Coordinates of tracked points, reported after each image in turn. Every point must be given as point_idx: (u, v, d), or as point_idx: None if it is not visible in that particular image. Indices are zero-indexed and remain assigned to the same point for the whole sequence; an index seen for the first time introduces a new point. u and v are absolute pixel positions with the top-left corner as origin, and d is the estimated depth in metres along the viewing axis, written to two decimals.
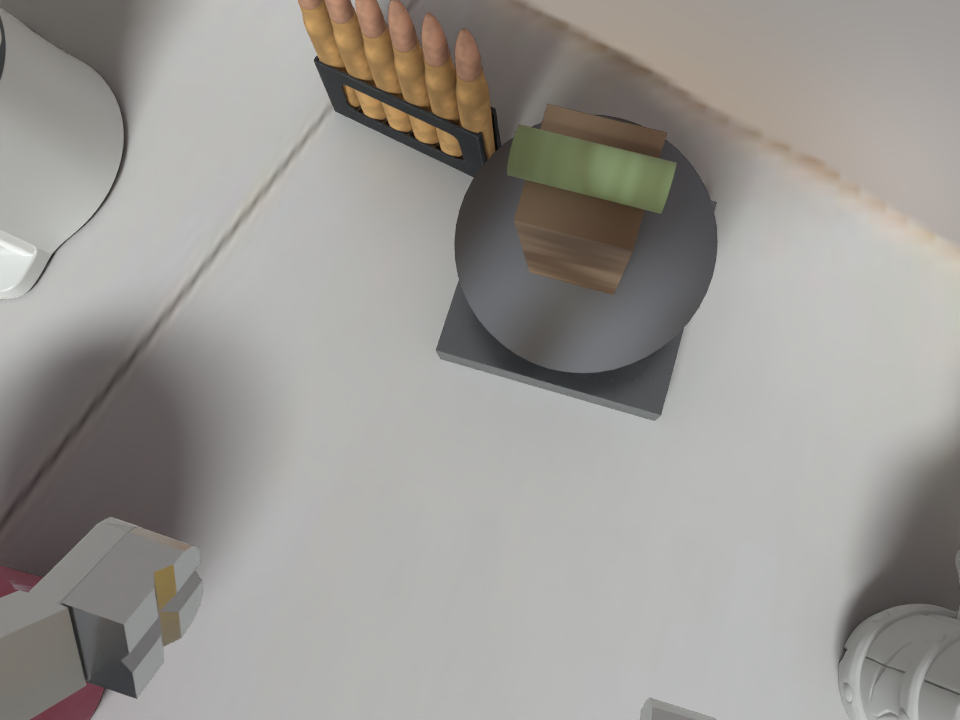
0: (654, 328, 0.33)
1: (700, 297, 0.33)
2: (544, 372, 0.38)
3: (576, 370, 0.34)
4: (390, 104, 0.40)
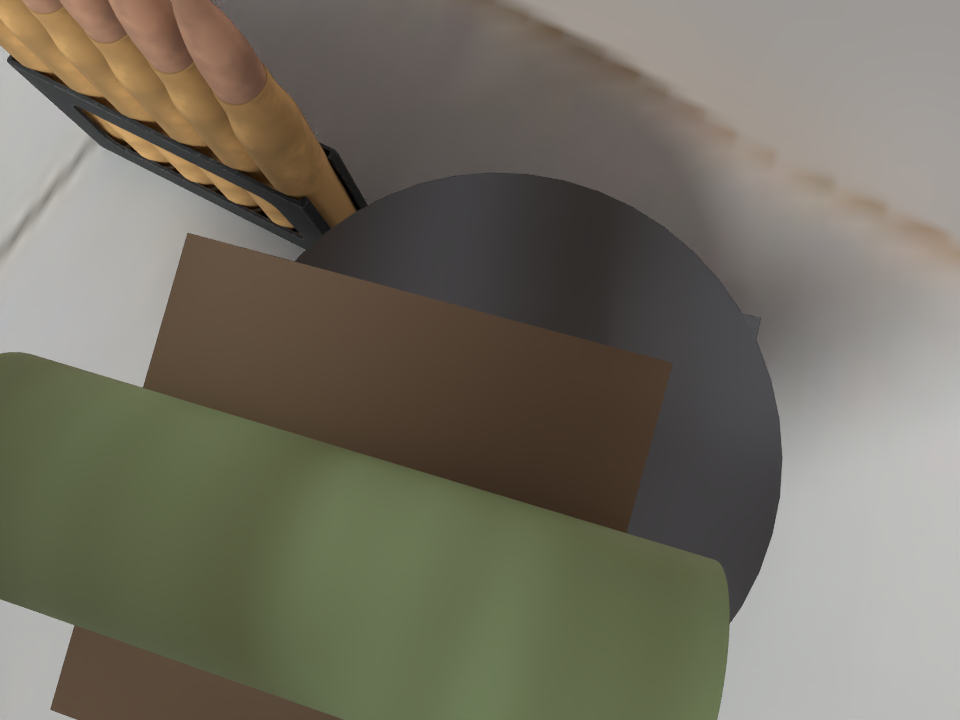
0: None
1: (746, 583, 0.15)
2: None
3: None
4: (151, 141, 0.21)
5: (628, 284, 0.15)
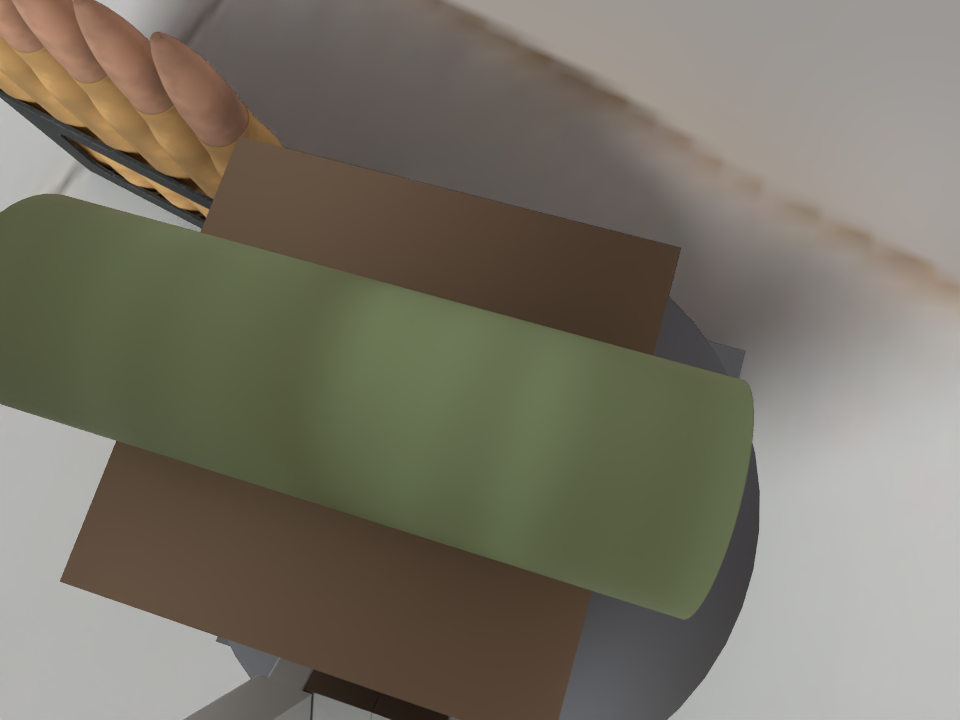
0: (626, 691, 0.15)
1: (729, 620, 0.15)
2: None
3: None
4: (137, 171, 0.21)
5: None
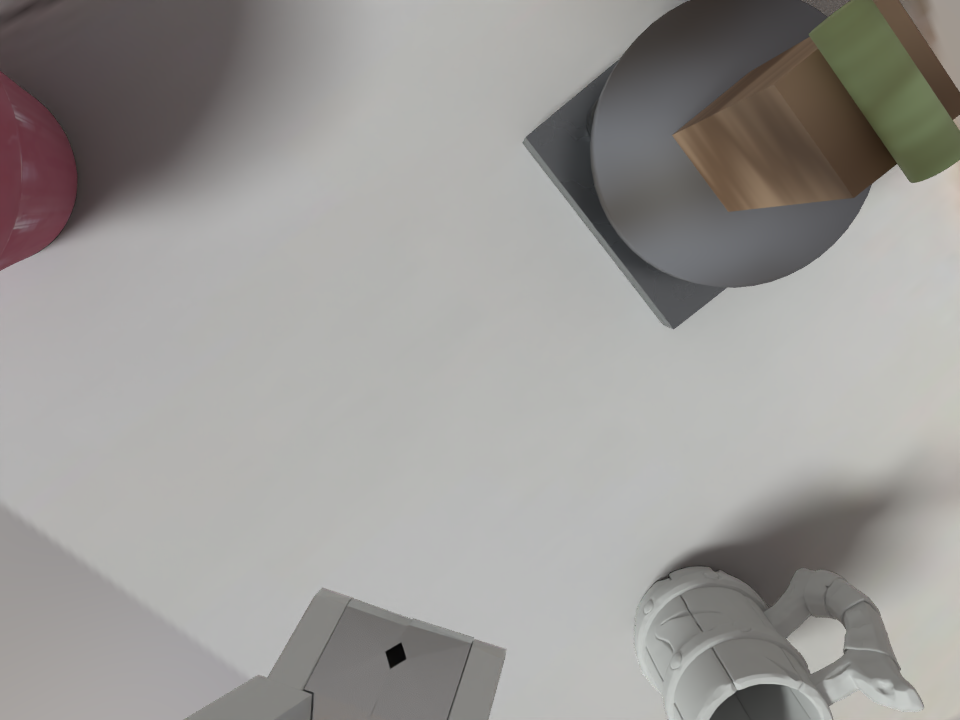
0: (738, 266, 0.31)
1: (796, 267, 0.31)
2: (606, 226, 0.36)
3: (647, 256, 0.31)
4: None
5: None
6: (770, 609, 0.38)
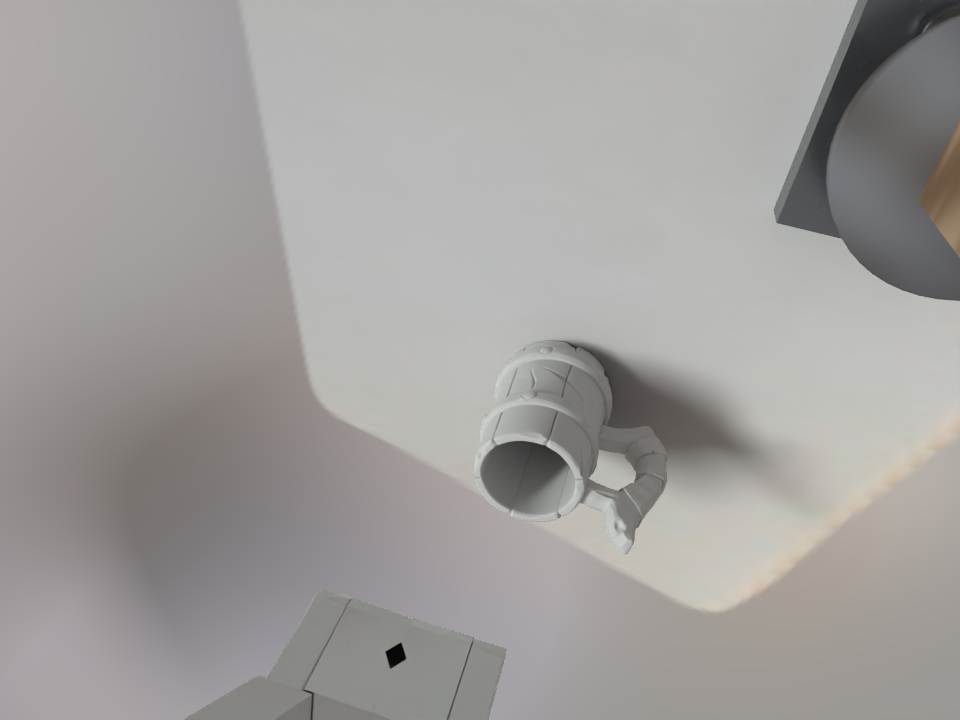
0: (870, 242, 0.32)
1: (897, 284, 0.33)
2: (836, 103, 0.35)
3: (833, 165, 0.31)
4: None
5: None
6: (608, 427, 0.46)
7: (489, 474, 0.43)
